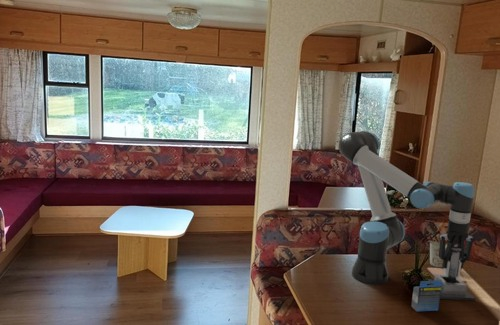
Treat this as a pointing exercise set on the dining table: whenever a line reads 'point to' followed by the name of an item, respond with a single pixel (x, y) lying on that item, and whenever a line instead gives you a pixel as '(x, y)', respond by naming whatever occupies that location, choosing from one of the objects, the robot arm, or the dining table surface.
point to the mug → (435, 254)
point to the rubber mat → (440, 272)
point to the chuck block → (453, 289)
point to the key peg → (453, 264)
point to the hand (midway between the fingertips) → (451, 275)
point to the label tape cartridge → (426, 296)
